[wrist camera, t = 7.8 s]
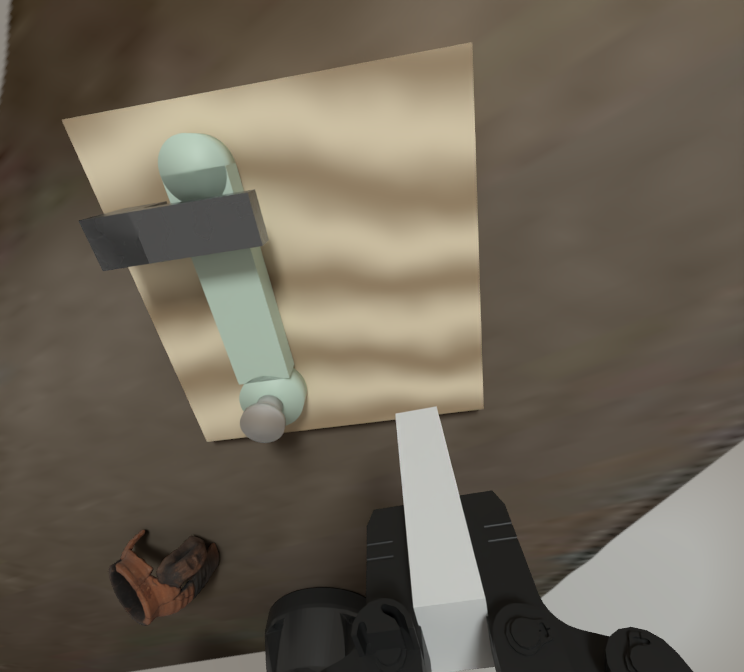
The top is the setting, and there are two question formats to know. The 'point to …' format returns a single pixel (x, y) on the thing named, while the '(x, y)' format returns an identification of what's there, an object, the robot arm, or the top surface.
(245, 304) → the link
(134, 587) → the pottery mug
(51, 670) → the top surface
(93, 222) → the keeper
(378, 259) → the base board
